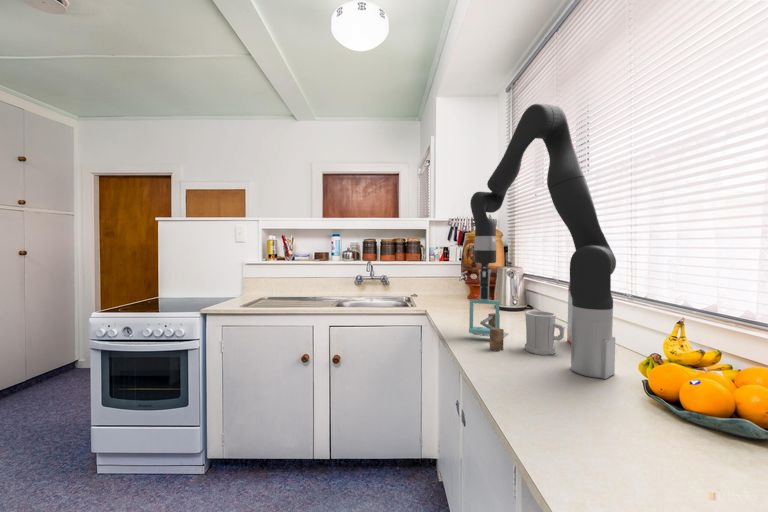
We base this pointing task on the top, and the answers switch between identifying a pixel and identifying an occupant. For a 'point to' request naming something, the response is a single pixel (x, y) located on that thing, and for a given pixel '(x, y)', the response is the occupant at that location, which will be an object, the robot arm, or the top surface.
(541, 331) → the cup
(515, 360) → the top surface
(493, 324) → the wood grain block
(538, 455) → the top surface
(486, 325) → the wire
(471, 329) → the turquoise frame with handle
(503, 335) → the pad
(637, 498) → the top surface
